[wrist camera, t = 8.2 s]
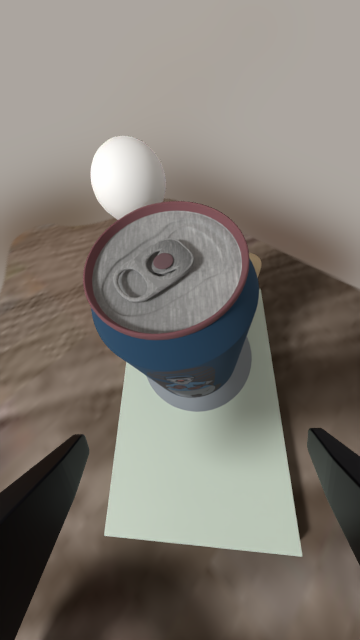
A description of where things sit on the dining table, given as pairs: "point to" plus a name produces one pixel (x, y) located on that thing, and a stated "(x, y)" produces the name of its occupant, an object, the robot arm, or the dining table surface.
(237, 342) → the soda can
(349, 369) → the dining table surface
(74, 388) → the dining table surface
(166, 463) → the board
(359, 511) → the robot arm
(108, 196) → the lightbulb
